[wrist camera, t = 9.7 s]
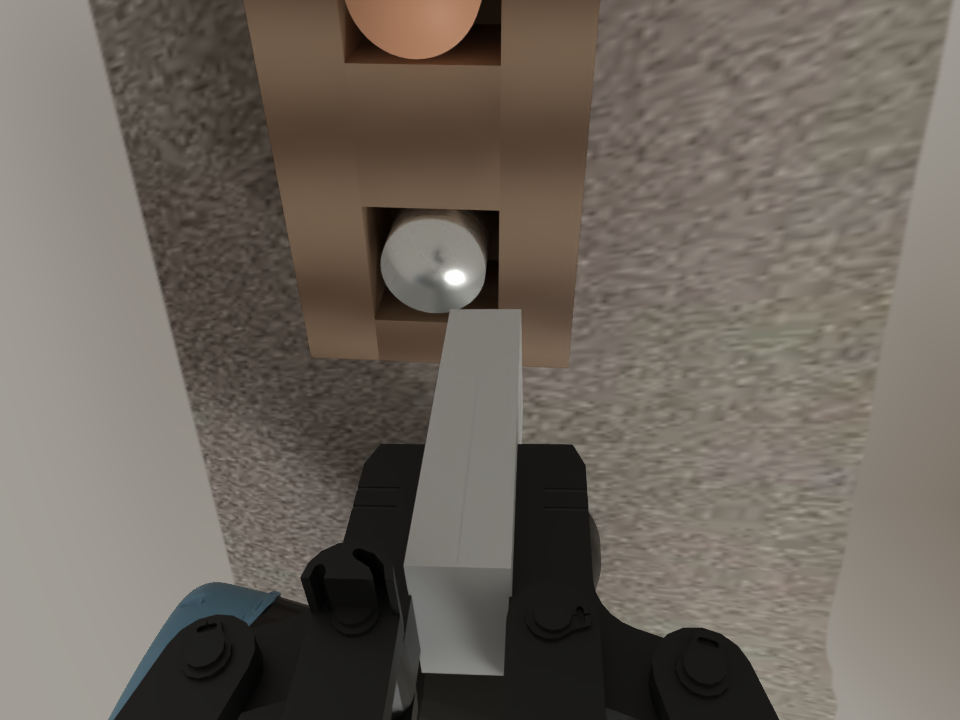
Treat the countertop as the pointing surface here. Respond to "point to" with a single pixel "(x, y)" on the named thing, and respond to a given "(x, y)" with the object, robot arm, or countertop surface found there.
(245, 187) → the countertop surface
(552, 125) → the brown wooden block
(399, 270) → the grey rounded piece
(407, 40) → the tan rounded piece
